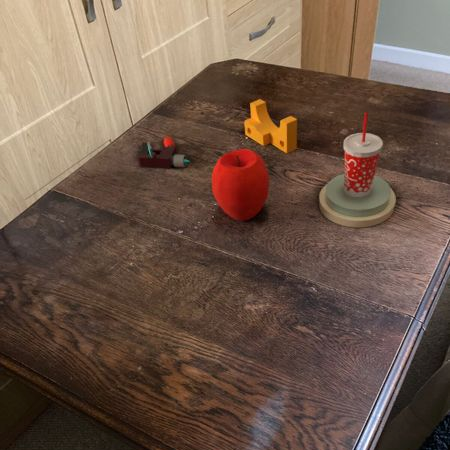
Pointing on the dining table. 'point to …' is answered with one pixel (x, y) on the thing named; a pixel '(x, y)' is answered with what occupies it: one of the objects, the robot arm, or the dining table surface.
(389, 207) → the round push button
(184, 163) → the toy gun
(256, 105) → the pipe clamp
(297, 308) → the dining table surface
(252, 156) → the apple
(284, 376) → the dining table surface
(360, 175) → the beverage cup
